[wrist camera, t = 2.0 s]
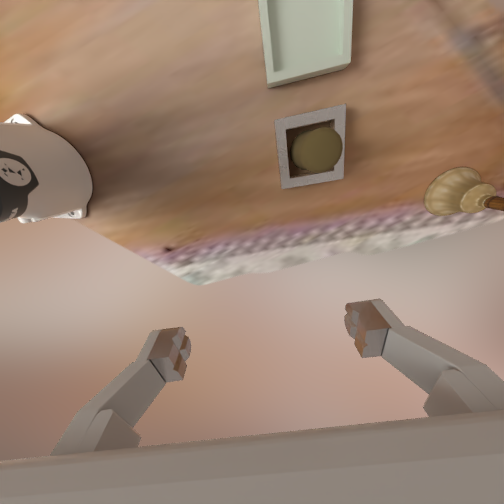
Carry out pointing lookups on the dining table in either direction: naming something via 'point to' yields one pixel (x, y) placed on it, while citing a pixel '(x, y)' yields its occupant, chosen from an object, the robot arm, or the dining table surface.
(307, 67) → the sage tray
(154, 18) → the dining table surface
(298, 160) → the cork
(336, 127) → the grey square frame
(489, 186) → the hand bell
